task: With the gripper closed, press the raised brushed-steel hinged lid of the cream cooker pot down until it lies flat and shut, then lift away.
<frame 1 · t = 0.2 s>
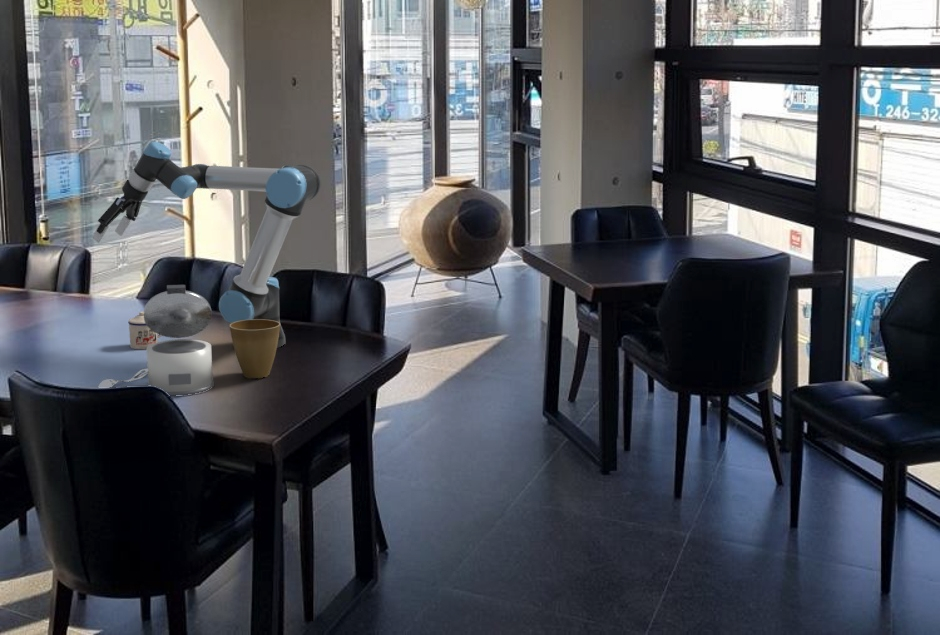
hand: (107, 236, 358), 36 cm above the table, tool tilted 35°, fingers open, 13 cm apart
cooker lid: (177, 311, 318), point 21 cm above the table, hinge at 55.0°
plant pot: (256, 376, 332), on the table
cooker pot: (180, 386, 319), on the table
stirrer: (125, 384, 323), on the table
teacup with lid: (148, 346, 364), on the table
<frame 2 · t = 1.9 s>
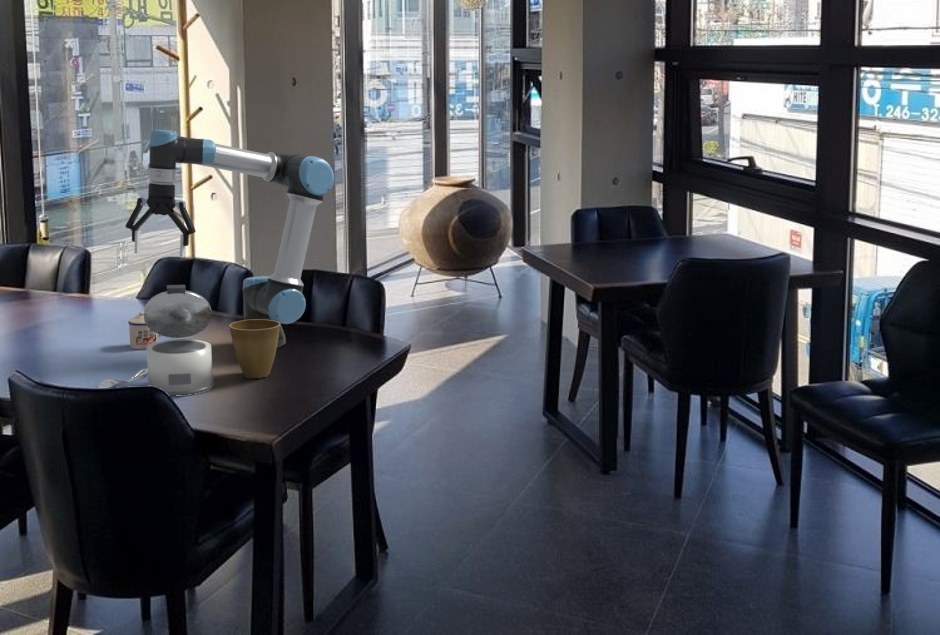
hand: (159, 254, 326), 36 cm above the table, tool pointing down, fingers open, 13 cm apart
nothing on the table moved.
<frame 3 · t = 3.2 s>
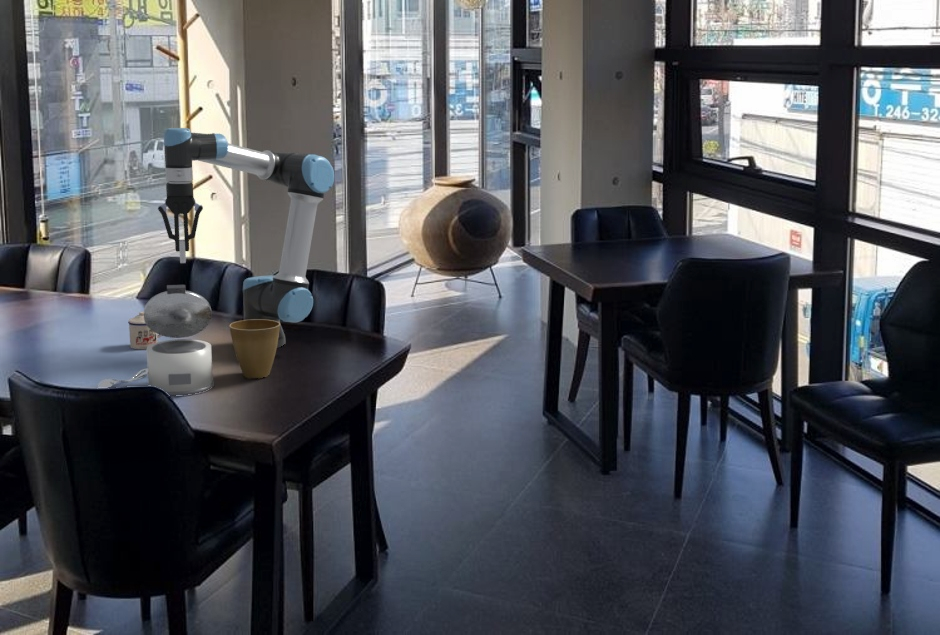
hand: (182, 262, 324), 34 cm above the table, tool pointing down, fingers closed
nothing on the table moved.
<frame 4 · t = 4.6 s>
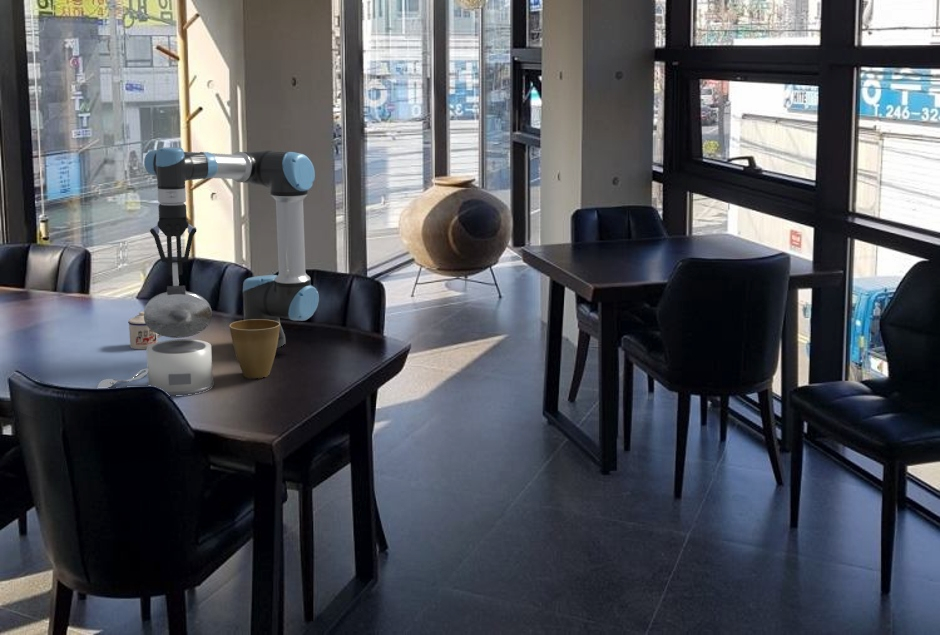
hand: (176, 286, 313), 30 cm above the table, tool pointing down, fingers closed
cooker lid: (177, 312, 318), point 21 cm above the table, hinge at 54.0°, touching gripper
everything else where it was.
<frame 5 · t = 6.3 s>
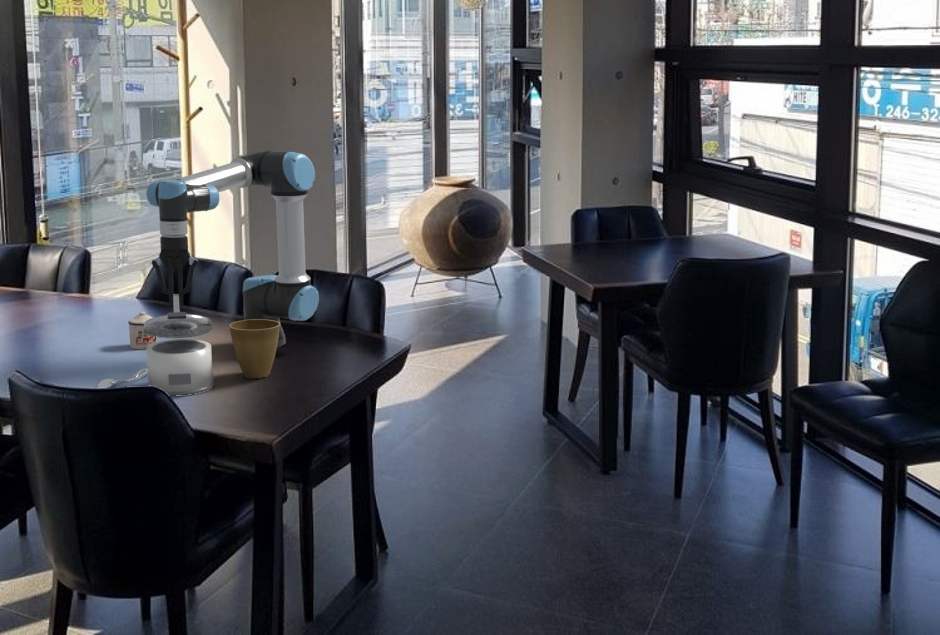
hand: (176, 317, 314), 21 cm above the table, tool pointing down, fingers closed
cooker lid: (178, 325, 316), point 18 cm above the table, hinge at 30.1°, touching gripper
everything else where it was.
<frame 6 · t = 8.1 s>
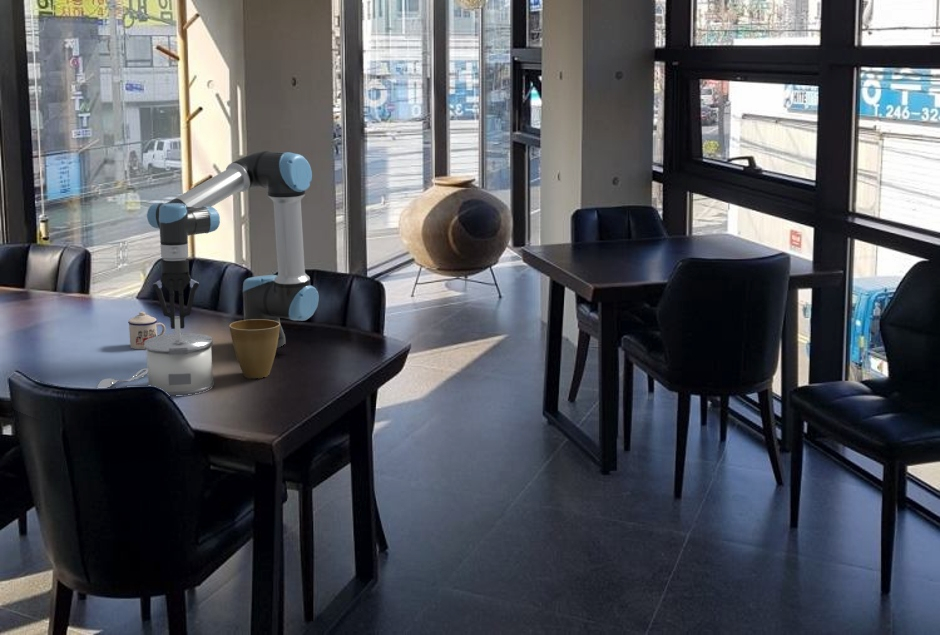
hand: (178, 339, 316), 14 cm above the table, tool pointing down, fingers closed
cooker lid: (178, 343, 315), point 13 cm above the table, hinge at 1.7°, touching gripper
everything else where it was.
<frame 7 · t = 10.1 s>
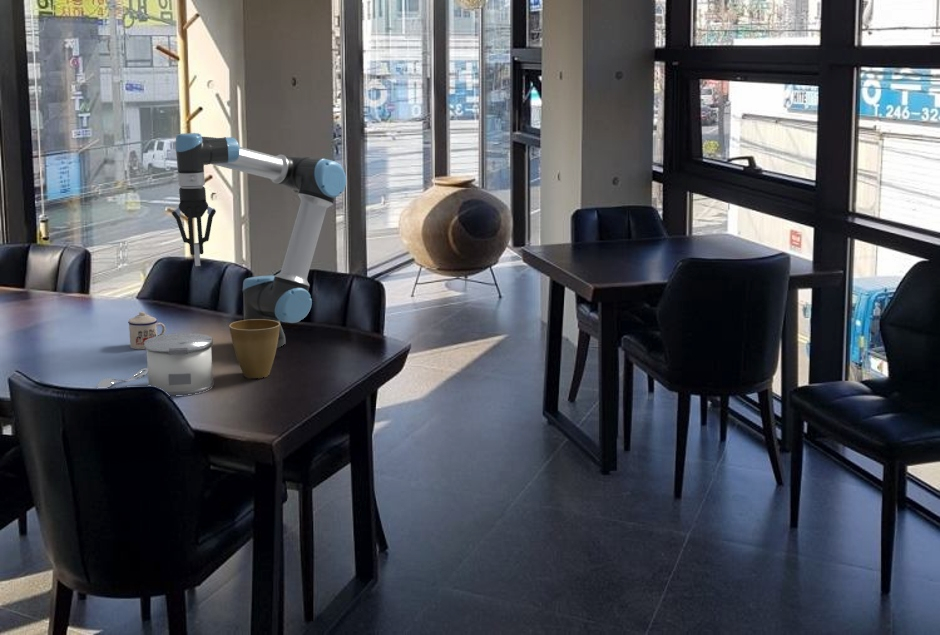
hand: (197, 265, 329), 33 cm above the table, tool pointing down, fingers closed
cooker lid: (178, 343, 315), point 13 cm above the table, hinge at 1.7°
everything else where it was.
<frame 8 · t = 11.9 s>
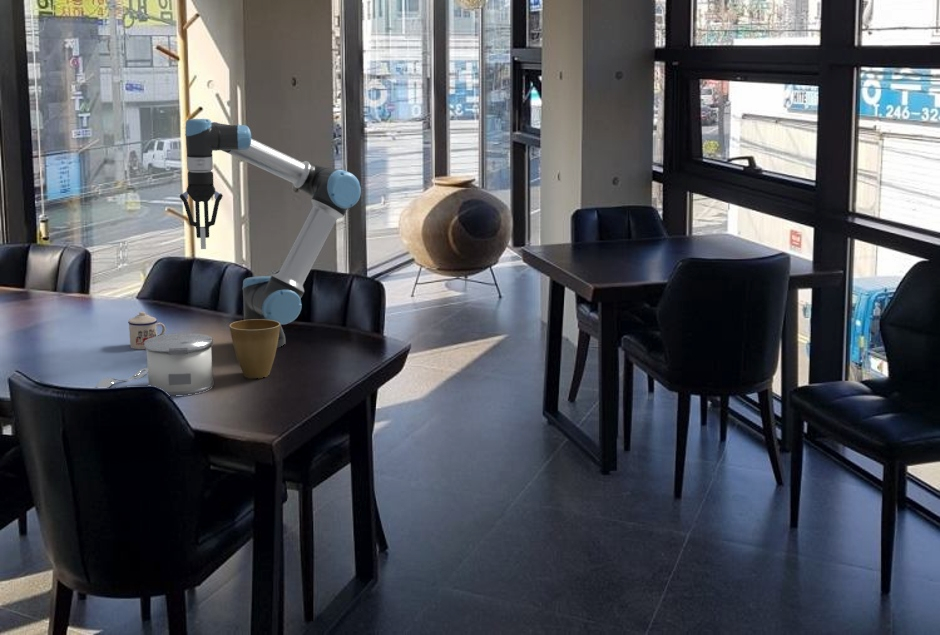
hand: (203, 248, 336), 36 cm above the table, tool pointing down, fingers closed
nothing on the table moved.
at the end: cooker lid at +2° (first picture: +55°) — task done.
